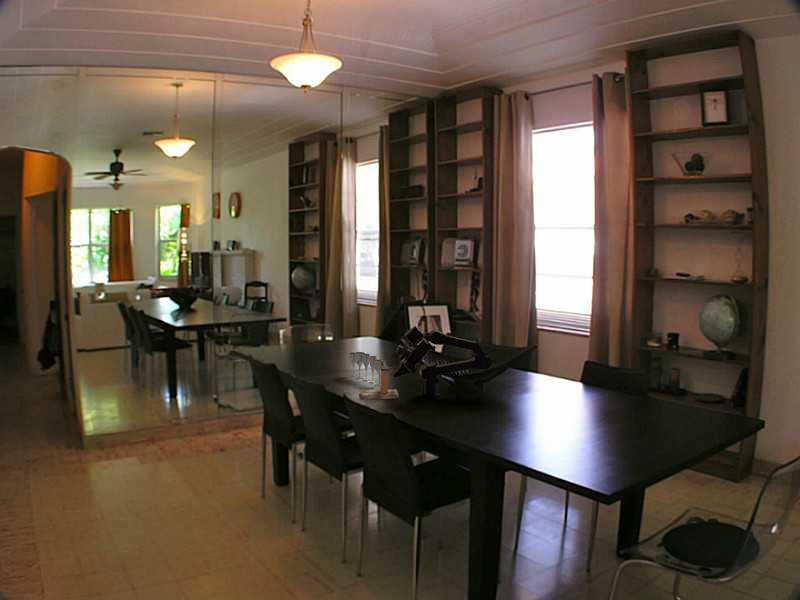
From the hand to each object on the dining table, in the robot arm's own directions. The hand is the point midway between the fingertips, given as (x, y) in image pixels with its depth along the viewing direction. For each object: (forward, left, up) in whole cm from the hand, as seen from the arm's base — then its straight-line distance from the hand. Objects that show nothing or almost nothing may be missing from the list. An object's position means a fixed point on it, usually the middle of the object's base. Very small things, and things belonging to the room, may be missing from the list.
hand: (394, 376), depth 270 cm
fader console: (+5, +4, -9) cm, 11 cm away
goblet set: (+28, -14, -9) cm, 33 cm away
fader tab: (+3, +3, -7) cm, 8 cm away
